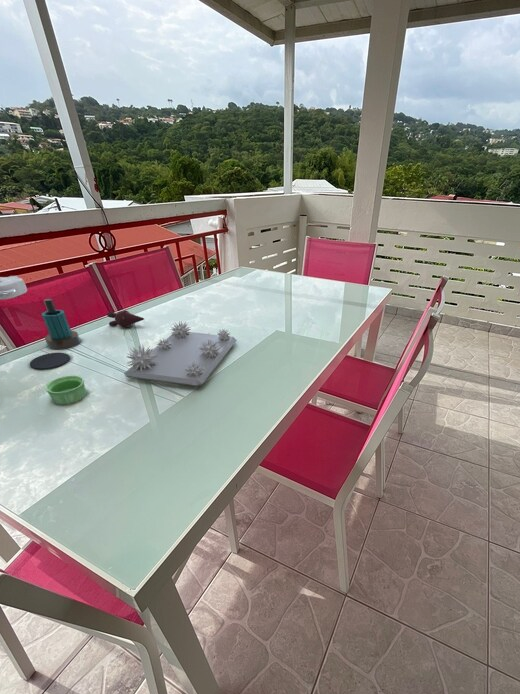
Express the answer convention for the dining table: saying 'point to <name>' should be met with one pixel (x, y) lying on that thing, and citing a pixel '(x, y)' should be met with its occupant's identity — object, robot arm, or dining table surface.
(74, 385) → the ramekin
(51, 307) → the holder
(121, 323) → the icecream
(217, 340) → the decorative tray
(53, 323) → the teal ribbed hollow cylinder
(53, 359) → the coaster
